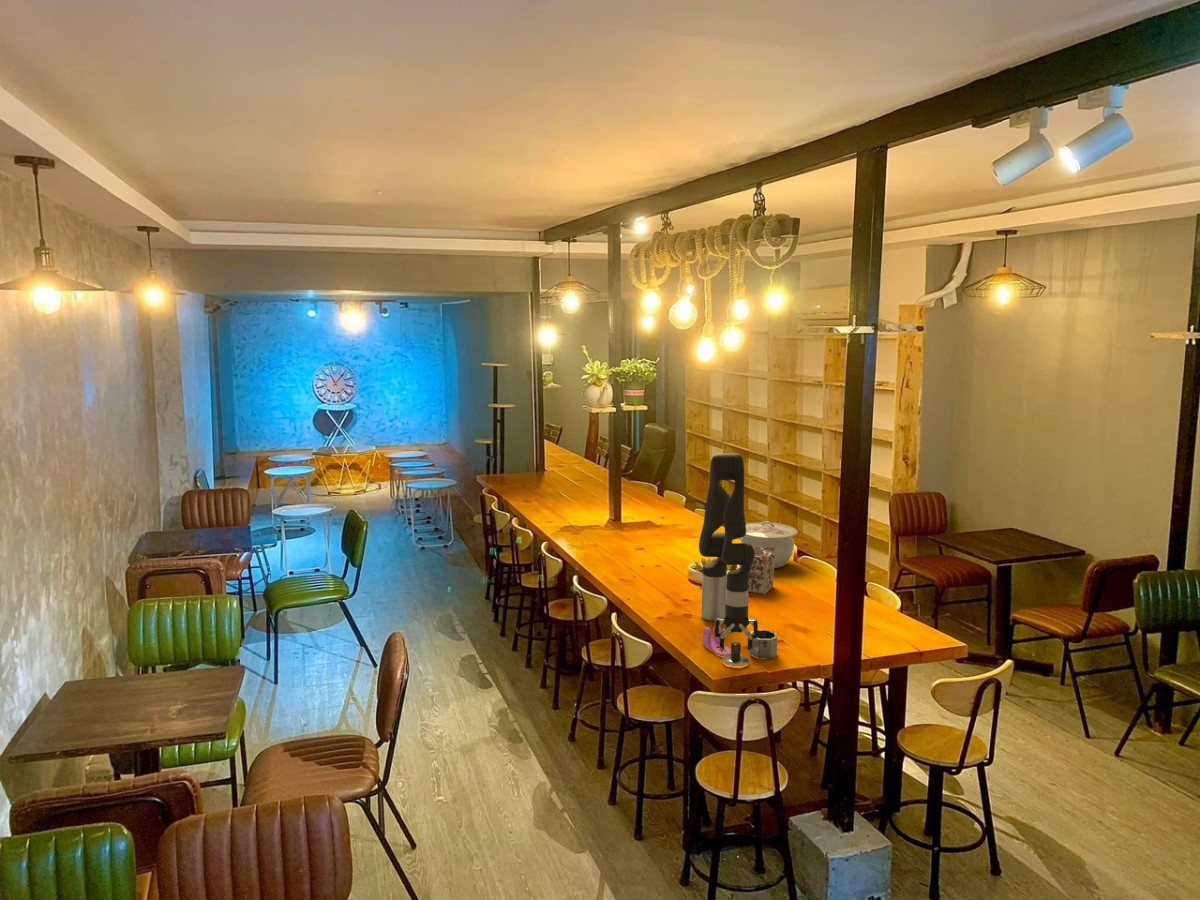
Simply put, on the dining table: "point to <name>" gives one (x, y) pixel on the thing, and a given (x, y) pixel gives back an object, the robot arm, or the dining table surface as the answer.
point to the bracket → (714, 642)
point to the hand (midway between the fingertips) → (735, 648)
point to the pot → (764, 644)
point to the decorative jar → (761, 572)
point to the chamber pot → (771, 539)
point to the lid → (735, 656)
